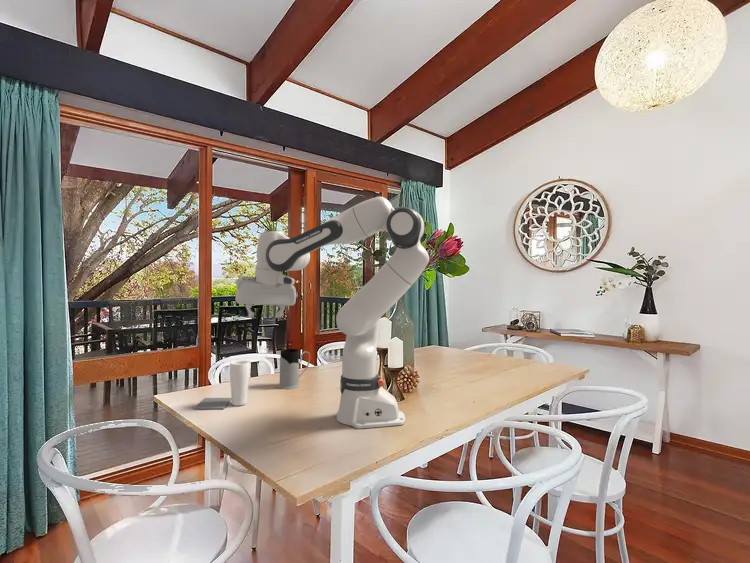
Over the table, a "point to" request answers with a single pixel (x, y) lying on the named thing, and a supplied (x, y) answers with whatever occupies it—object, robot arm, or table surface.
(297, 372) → the grey mug
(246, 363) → the drinking glass
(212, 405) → the mat
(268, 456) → the table surface
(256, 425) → the table surface
